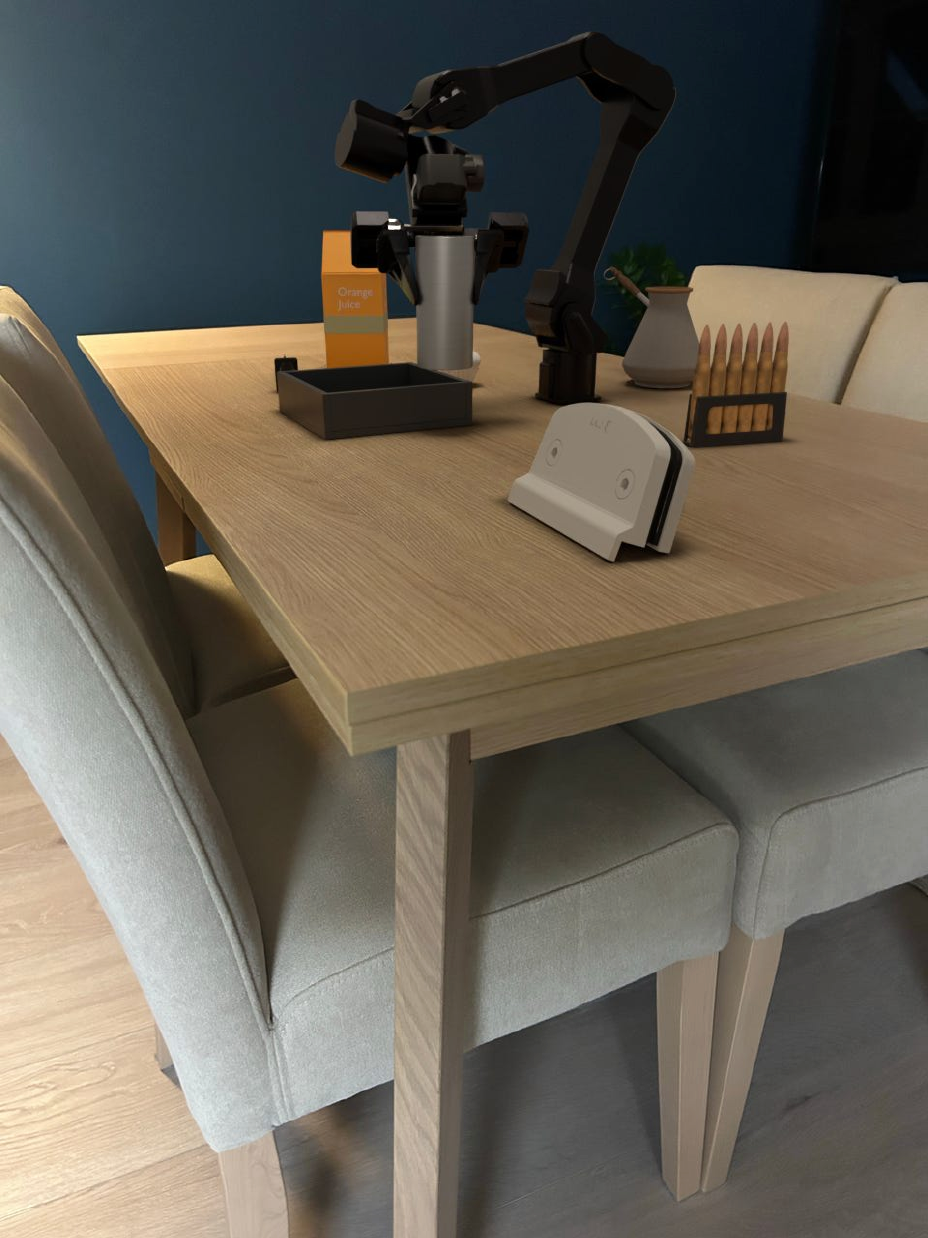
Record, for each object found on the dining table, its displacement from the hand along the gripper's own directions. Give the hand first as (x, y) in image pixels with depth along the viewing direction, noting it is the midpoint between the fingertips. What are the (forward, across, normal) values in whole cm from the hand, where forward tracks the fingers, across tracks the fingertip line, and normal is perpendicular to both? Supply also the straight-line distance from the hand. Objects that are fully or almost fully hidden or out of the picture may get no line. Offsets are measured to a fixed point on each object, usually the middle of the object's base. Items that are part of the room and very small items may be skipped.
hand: (446, 302), depth 97 cm
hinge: (+34, +7, -14) cm, 37 cm away
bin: (+2, -7, +17) cm, 19 cm away
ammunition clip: (+16, +29, +3) cm, 33 cm away
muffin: (-12, +6, +32) cm, 35 cm away
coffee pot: (-13, +33, +32) cm, 48 cm away
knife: (-14, -18, +33) cm, 40 cm away
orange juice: (-23, -7, +43) cm, 49 cm away
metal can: (+4, 0, +6) cm, 7 cm away
